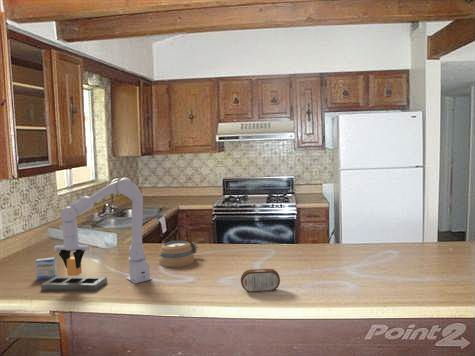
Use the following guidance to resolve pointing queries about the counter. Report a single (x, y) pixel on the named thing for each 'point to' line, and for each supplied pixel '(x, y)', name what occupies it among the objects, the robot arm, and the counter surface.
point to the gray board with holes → (74, 284)
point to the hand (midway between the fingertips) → (73, 267)
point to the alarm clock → (177, 253)
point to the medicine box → (46, 268)
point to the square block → (72, 267)
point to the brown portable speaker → (260, 280)
